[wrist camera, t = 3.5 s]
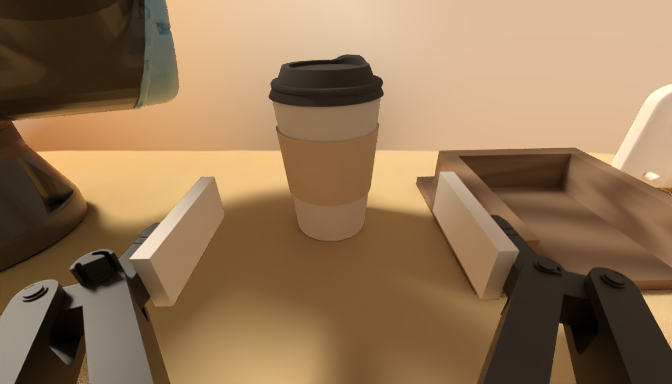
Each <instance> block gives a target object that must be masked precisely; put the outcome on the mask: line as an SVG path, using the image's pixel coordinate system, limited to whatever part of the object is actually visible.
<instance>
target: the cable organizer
mask: <svg viewBox="0 0 672 384" xmlns="http://www.w3.org/2000/svg"><path fill="white" fill-rule="evenodd" d="M611 166H613V167H615V168H617V169H619V170H621V171H623V172H625V173H627V174H629V175H631V176H633V177H635V178H637V179H639V180H641V181H643V182H645V183H647V184H649V185H651V186H653V187H655V188H657V189H658V188H672V84H670V85H667V86H664V87H662V88H660V89H658V90H656V91H655V92H654V93H652V94H651V95H650V96H649V97H648V98H647V99H646V101H645V102H644V105H643V106H642V108H641V110H640V112H639V114H638V116H637V117H636V119H635V121H634V123H633V125H632V127H631V129H630V130H629V132H628V134H627V136H626V138H625V140H624V142H623V143H622V145H621V147H620V149H619V151H618V153H617V155H616V156H615V158H614V160H613V162H612V164H611Z"/></svg>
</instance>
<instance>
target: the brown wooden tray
mask: <svg viewBox="0 0 672 384" xmlns="http://www.w3.org/2000/svg"><path fill="white" fill-rule="evenodd" d="M440 172H454V173H455V174H456V175H457V177H458V178H459V179H460V180H461V181H462V183H463V184H464V185H465V186H466V187H467V189H468V190H469V191H470V192H471V193H472V195H473V196H474V197H475V198H476V199H477V201H478V202H479V203H480V204H481V205H482V207H483V208H484V209H485V210H486V211H487V213H488V214H489V215H499V216H500V217H502V218H503V219H505V220H506V221H508V222H509V224H510V225H511V226H512V227H513V228H514V230H516V231H517V232H518V234H519V236H521V237H522V238H523V239H524V240H525V241H526V242H527V244H528V245H529V246H530V247H531V248H532V249H533V250H534V251H535V252H536V254H537V255H540V256H544V257H548V258H550V259H552V260H554V261H556V262H557V263H558V264H560V265H561V266H562V267H563V268H564V270H565V271H568V272H573V273H578V274H583V275H587V274H588V273H589V271H590V270H591V269H592V268H594V267H604V268H609V269H612V270H615V271H617V272H619V273H622V274H623V275H625V276H627V277H628V278H629V279H631V280H632V281H633V282H634V283H635V285H636V286H637V287H638V289H639V290H659V289H672V196H671V195H669V194H667V193H665V192H663V191H661V190H659V189H657V188H655V187H653V186H651V185H649V184H647V183H645V182H643V181H641V180H639V179H637V178H635V177H633V176H631V175H629V174H627V173H625V172H623V171H621V170H619V169H617V168H615V167H613V166H611V165H609V164H607V163H605V162H603V161H601V160H599V159H597V158H595V157H593V156H591V155H589V154H587V153H585V152H582V151H580V150H578V149H576V148H546V149H545V148H541V149H498V150H497V149H496V150H454V151H439V155H438V160H437V165H436V171H435V176H434V177H417V182H416V184H417V186H418V188H419V190H420V192H421V194H422V196H423V198H424V199H425V201H426V203H427V205H428V207H429V209H430V211H431V213H432V214H433V216H434V218H435V220H436V222H437V224H438V226H439V227H440V229H441V231H442V233H443V235H444V237H445V239H446V241H447V242H448V244H449V246H450V248H451V250H452V252H453V254H454V256H455V257H456V259H457V261H458V263H459V265H460V267H461V269H462V270H463V272H464V274H465V276H466V278H467V280H468V282H469V284H470V285H471V287H472V289H473V291H474V293H475V294H477V292H476V290H475V288H474V287H473V285H472V283H471V281H470V279H469V277H468V275H467V274H466V272H465V270H464V268H463V266H462V264H461V262H460V261H459V259H458V257H457V255H456V253H455V251H454V250H453V248H452V246H451V244H450V242H449V240H448V238H447V237H446V235H445V233H444V231H443V229H442V227H441V226H440V224H439V222H438V220H437V218H436V216H435V214H434V213H433V206H434V201H435V196H436V191H437V186H438V180H439V175H440ZM502 293H505V292H504V290H503V291H502Z"/></svg>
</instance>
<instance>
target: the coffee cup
mask: <svg viewBox="0 0 672 384" xmlns="http://www.w3.org/2000/svg"><path fill="white" fill-rule="evenodd" d="M382 84H383V81H382V79H381V78H380V77H378V76H375V75H373V73H372V71H371V67H370V65H369V63H367V62H366V61H365V60H364V58H363V57H361V56H359V55H343V56H340V57H338V58H336V59H333V60H312V61H299V62H291V63H287V64H283V65H282V66H281V69H280V73H279V76H278V78H275V79H273V80H272V82H271V88H272V89H271V92H270V94H269V98H270V99H271V100H272V101H273V105H274V109H275V115H276V120H277V124H278V125H277V127H276V130H277V135H278V139H279V144H280V148H281V153H282V157H283V162H284V166H285V171H286V175H287V180H288V184H289V189H290V192H291V193H292V196H293V201H294V206H295V211H296V216H297V220H298V225H299V227H300V229H301V230H302V232H303V233H305V234H306V235H308V236H309V237H312V238H314V239H317V240H322V241H339V240H344V239H347V238H350V237H352V236H354V235H356V234H357V233H358V232H359V231H360V230H361V229H362V228H363V225H364V220H365V213H366V205H367V197H368V192H369V190H370V187H371V179H372V172H373V165H374V158H375V150H376V143H377V136H378V129H379V123H378V122H377V121H378V113H379V106H380V98H381V97H382V96H383V94H384V93H383V90H382V88H381V87H382Z"/></svg>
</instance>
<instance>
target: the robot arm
mask: <svg viewBox="0 0 672 384" xmlns="http://www.w3.org/2000/svg"><path fill="white" fill-rule="evenodd" d="M178 89H179V79H178V70H177V62H176V55H175V49H174V43H173V38H172V34H171V31H170V23H169V17H168V10H167V6H166V1H165V0H0V270H2V269H5V268H7V267H9V266H11V265H14V264H16V263H18V262H20V261H22V260H24V259H26V258H28V257H30V256H32V255H34V254H36V253H38V252H39V251H41V250H43V249H45V248H46V247H48V246H50V245H51V244H53V243H55V242H56V241H58V240H59V239H61V238H62V237H63V236H65V235H66V234H67V233H69V232H70V231H71V230H72V229H73V228H75V227H76V226H77V225H78V224H79V223H80V222H81V220H82V219H83V218H84V216H85V215H86V212H87V209H88V206H87V203H86V201H85V200H84V198H83V196H82V194H81V193H80V191H79V189H78V188H77V187H76V186H75V185H74V184H73V183H72V182H71V181H70V180H68V179H67V178H66V177H65V176H64V175H62V174H61V173H60V172H59V171H58V170H56V169H55V168H54V167H53V166H52V165H50V164H49V163H48V162H47V161H46V160H44V159H43V158H42V157H41V156H40V155H38V154H37V153H36V152H35V151H34V150H32V149H31V148H30V147H29V146H28V145H27V144H26V143H25V141H24V140H23V139H22V137H21V136H20V134H19V132H18V131H17V129H16V128H15V126H14V124H13V123H12V121H15V120H24V119H34V118H45V117H55V116H65V115H75V114H86V113H96V112H107V111H117V110H127V109H140V108H141V107H143V106H149V105H155V104H160V103H166V102H169V101H171V100H172V99H173V98H175V96H176V95H177V93H178ZM433 213H434V214H435V216H436V218H437V220H438V222H439V224H440V226H441V227H442V229H443V231H444V233H445V235H446V237H447V238H448V240H449V242H450V244H451V246H452V248H453V250H454V251H455V253H456V255H457V257H458V259H459V261H460V262H461V264H462V266H463V268H464V270H465V272H466V274H467V275H468V277H469V279H470V281H471V283H472V285H473V287H474V288H475V290H476V292H477V294H478V296H479V298H480V299H481V300H499V298H500V295H501V293H502V291H503V290H504V292H505V293H506V295H507V297H508V299H507V302H506V304H505V306H504V308H503V310H502V313H501V318H500V321H499V324H498V326H497V329H496V332H495V335H494V338H493V340H492V343H491V346H490V349H489V352H488V354H487V357H486V360H485V363H484V366H483V368H482V371H481V374H480V377H479V380H478V382H477V384H549V383H550V376H551V370H552V364H553V357H554V351H555V345H556V338H557V332H558V326H559V323H562V324H563V326H564V330H565V335H566V339H567V344H568V348H569V352H570V357H571V361H572V365H573V370H574V374H575V378H576V383H577V384H672V350H671V348H670V346H669V344H668V342H667V340H666V339H665V337H664V335H663V333H662V331H661V329H660V328H659V326H658V324H657V322H656V320H655V318H654V317H653V315H652V313H651V311H650V309H649V307H648V305H647V304H646V302H645V300H644V298H643V296H642V294H641V293H640V291H639V289H638V287H637V286H636V285H635V283H634V282H633V281H632V280H631V279H629V278H628V277H627V276H625V275H623V274H622V273H619V272H617V271H615V270H612V269H609V268H604V267H594V268H592V269H591V270H590V271H589V273H588V274H587V275H583V274H578V273H573V272H568V271H565V270H564V268H563V267H562V266H561V265H560V264H558V263H557V262H556V261H554V260H552V259H550V258H548V257H544V256H540V255H537V254H536V252H535V251H534V250H533V249H532V248H531V247H530V246H529V245H528V244H527V242H526V241H525V240H524V239H523V238H522V237H521V236H519V234H518V232H517V231H516V230H514V228H513V227H512V226H511V225H510V224H509V222H508V221H506V220H505V219H503V218H502V217H500V216H499V215H489V214H488V213H487V211H486V210H485V209H484V208H483V207H482V205H481V204H480V203H479V202H478V201H477V199H476V198H475V197H474V196H473V195H472V193H471V192H470V191H469V190H468V189H467V187H466V186H465V185H464V184H463V183H462V181H461V180H460V179H459V178H458V177H457V175H456V174H455V173H454V172H440V175H439V180H438V186H437V191H436V196H435V201H434V206H433ZM224 216H225V214H224V210H223V206H222V203H221V199H220V195H219V192H218V188H217V184H216V181H215V177H201V178H200V179H199V180H198V181H197V182H196V184H195V185H194V186H193V187H192V188H191V189H190V190H189V191H188V193H187V194H186V195H185V196H184V197H183V198H182V199H181V201H180V202H179V203H178V204H177V205H176V206H175V207H174V209H173V210H172V211H171V212H170V213H169V214H168V215H167V216H166V218H165V219H164V220H163V221H162V222H161V223H155V224H153V225H152V226H150V227H149V228H147V229H146V230H145V231H144V232H143V233H142V234H141V235H140V236H139V238H137V239H136V241H135V242H134V243H133V245H131V246H130V247H129V248H128V249H127V250H126V251H125V252H124V254H123V255H122V256H121V257H120V258H119V259H117V257H116V255H115V253H114V252H113V251H112V250H110V249H99V250H95V251H92V252H90V253H87V254H85V255H83V256H82V257H80V258H79V259H77V260H76V261H75V262H74V263H73V264H72V265H71V267H70V271H71V272H72V274H73V275H74V277H75V278H76V279H77V281H78V282H79V283H78V284H74V285H69V286H65V287H62V286H61V285H60V284H59V282H58V281H56V280H53V279H48V280H42V281H39V282H36V283H33V284H31V285H29V286H27V287H25V288H24V289H22V290H21V291H20V292H18V293H17V294H16V295H15V296H14V297H13V298H12V299H11V300H10V302H9V304H8V305H7V307H6V309H5V310H4V312H3V314H2V315H1V317H0V384H77V380H78V377H79V373H80V369H81V365H82V362H83V358H84V354H85V351H86V354H87V366H88V379H89V384H170V381H169V378H168V375H167V372H166V368H165V365H164V362H163V359H162V356H161V352H160V349H159V346H158V343H157V340H156V336H155V333H154V330H153V327H152V324H151V320H150V317H149V314H148V311H147V309H146V307H145V304H146V302H147V301H148V300H149V298H151V300H152V302H153V304H154V306H155V307H160V306H173V305H174V303H175V302H176V300H177V298H178V296H179V295H180V293H181V291H182V289H183V288H184V286H185V284H186V282H187V281H188V279H189V277H190V276H191V274H192V272H193V270H194V269H195V267H196V265H197V263H198V262H199V260H200V258H201V256H202V255H203V253H204V251H205V249H206V248H207V246H208V244H209V242H210V241H211V239H212V237H213V235H214V234H215V232H216V230H217V228H218V227H219V225H220V223H221V222H222V220H223V218H224Z"/></svg>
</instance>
